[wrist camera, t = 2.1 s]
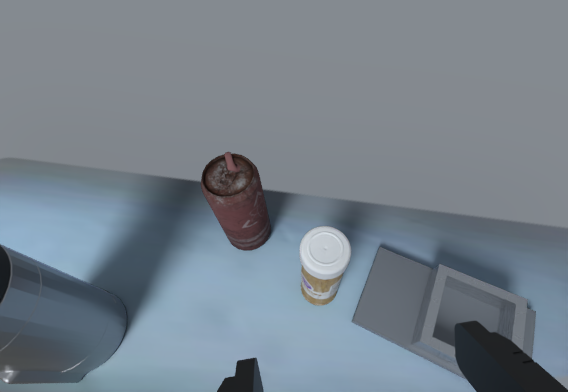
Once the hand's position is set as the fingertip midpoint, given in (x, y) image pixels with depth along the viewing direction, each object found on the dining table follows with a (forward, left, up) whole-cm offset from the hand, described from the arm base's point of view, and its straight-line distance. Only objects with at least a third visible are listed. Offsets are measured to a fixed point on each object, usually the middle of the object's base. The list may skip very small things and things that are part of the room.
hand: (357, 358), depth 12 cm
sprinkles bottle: (+8, +4, -25) cm, 26 cm away
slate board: (+11, -10, -25) cm, 29 cm away
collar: (+11, -12, -24) cm, 29 cm away
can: (+11, +16, -25) cm, 32 cm away
